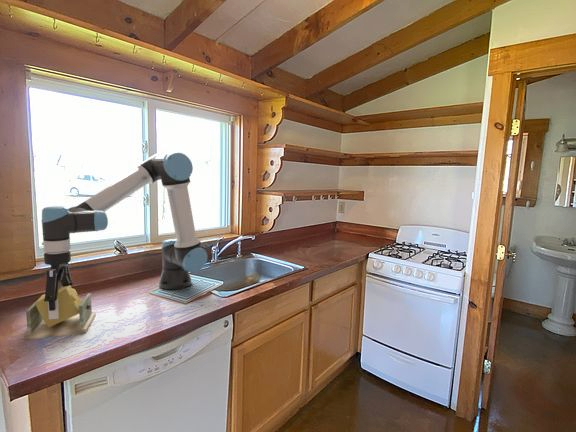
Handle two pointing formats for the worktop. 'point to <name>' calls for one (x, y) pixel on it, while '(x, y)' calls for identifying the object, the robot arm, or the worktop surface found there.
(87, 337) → the worktop surface
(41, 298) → the cheese
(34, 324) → the holder
